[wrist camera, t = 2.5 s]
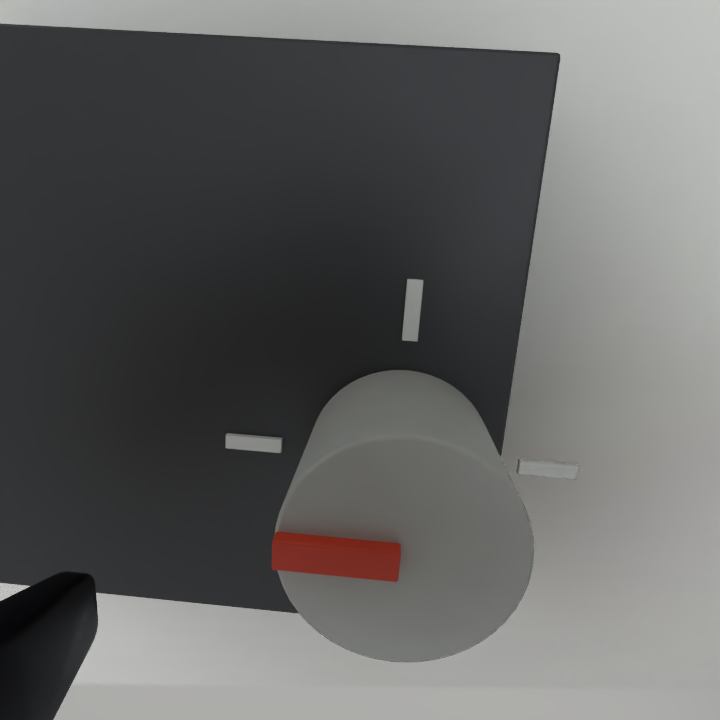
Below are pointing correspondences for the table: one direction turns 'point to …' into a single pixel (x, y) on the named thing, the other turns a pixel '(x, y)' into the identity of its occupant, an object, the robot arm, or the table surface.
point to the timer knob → (402, 523)
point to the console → (239, 279)
